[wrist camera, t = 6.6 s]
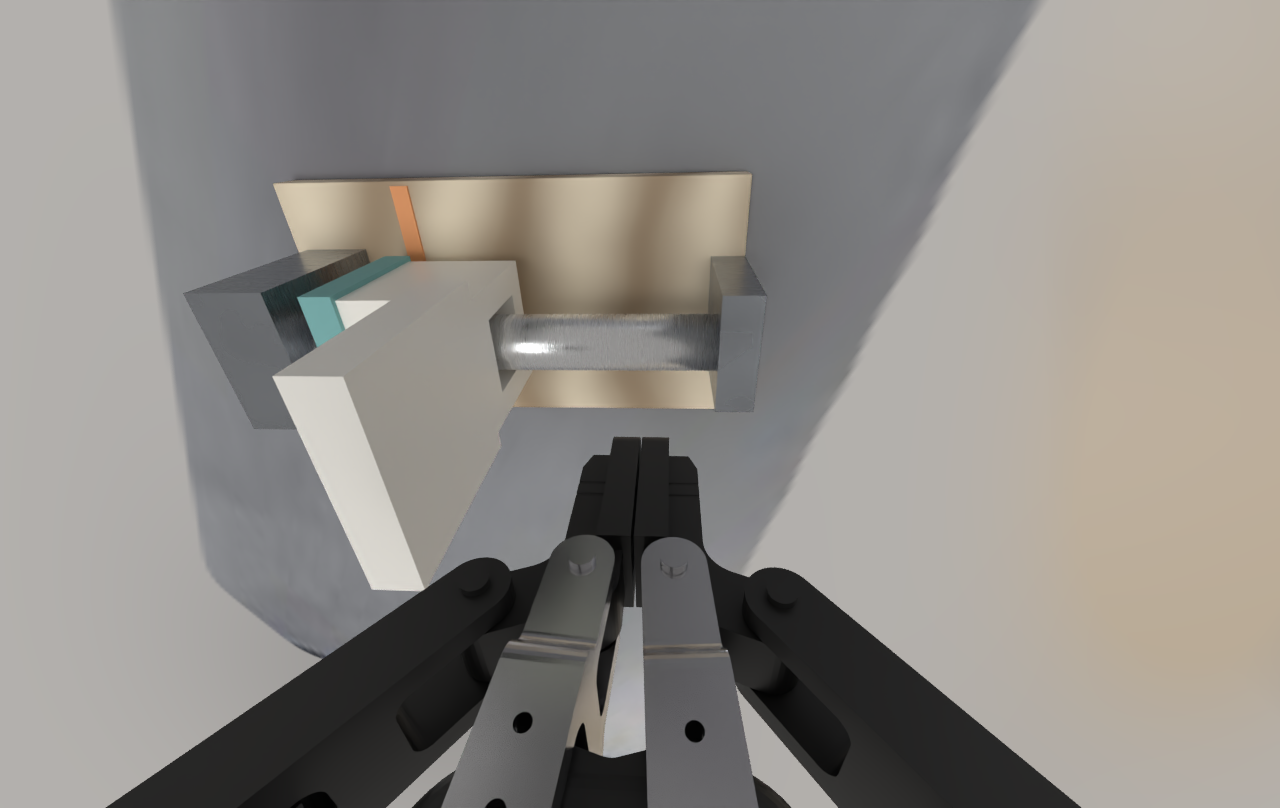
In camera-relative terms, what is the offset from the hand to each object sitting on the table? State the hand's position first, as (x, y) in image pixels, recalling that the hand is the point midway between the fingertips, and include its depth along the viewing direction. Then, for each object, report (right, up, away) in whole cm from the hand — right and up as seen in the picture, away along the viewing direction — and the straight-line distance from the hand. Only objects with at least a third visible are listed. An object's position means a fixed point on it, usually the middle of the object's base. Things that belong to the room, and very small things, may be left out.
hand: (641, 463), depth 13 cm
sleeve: (-8, +6, +10) cm, 14 cm away
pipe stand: (-6, +7, +13) cm, 16 cm away
